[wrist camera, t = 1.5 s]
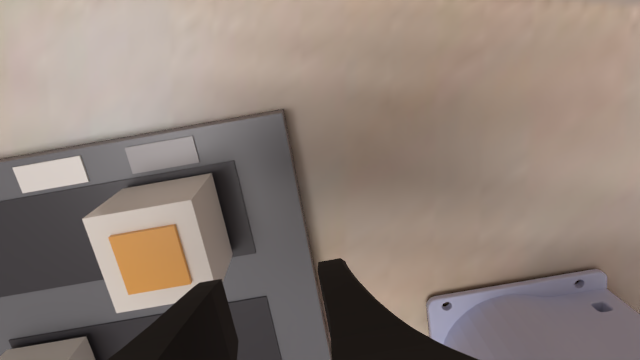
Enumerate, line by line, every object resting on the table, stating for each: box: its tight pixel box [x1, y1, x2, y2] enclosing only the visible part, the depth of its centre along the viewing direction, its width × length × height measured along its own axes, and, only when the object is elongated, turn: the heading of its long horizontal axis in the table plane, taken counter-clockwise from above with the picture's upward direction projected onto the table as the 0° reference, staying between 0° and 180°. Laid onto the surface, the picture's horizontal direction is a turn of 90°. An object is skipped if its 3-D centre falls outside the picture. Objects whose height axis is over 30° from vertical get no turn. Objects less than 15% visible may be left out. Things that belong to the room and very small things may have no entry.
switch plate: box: [0, 109, 332, 360], centre depth 21 cm, size 18×15×1 cm
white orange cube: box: [82, 173, 233, 313], centre depth 17 cm, size 4×4×4 cm
